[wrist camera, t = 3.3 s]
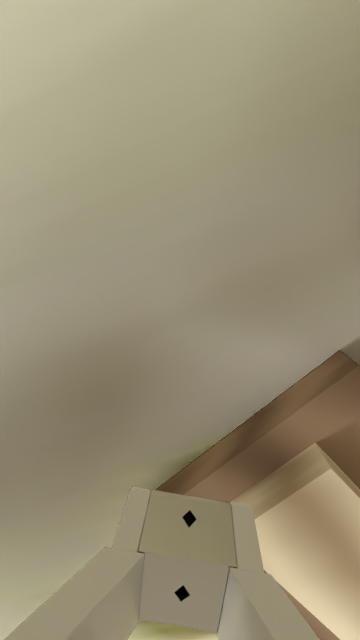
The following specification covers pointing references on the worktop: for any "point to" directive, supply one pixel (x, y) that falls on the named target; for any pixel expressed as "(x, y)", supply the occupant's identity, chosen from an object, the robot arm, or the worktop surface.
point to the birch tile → (312, 537)
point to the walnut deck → (285, 443)
